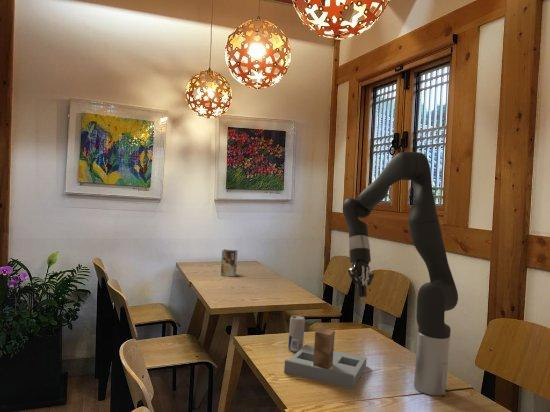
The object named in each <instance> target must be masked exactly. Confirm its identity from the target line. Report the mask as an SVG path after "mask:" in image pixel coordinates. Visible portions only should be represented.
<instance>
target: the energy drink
mask: <svg viewBox="0 0 550 412" xmlns="http://www.w3.org/2000/svg"><path fill="white" fill-rule="evenodd" d="M305 321H306V319H305V317H304V316H302V315H298V314H297V315H296V314H295V315H294V314H293V315H291V316H290V318H289V331H288V344H287V345H288V347H287V349H288V350H289V351H290V352H293V353H297V352H298V351H299V350H300V349H301V348H302V347H303V346H304V337H305V326H306V325H305V324H306V322H305Z"/></svg>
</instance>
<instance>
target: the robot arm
mask: <svg viewBox="0 0 550 412" xmlns="http://www.w3.org/2000/svg"><path fill="white" fill-rule="evenodd" d="M399 181H411V184H412V189H413V201H412V205H411V208H410V211H409V215H408V221H407V222H408V227H409V228H408V229H409V232H410V237H411V238H410V239H411V241H412V243H413V246H414V248H415V250H416V251H417V252H418V254H419V256H420V257H421V259H422V260H423V262H424V263H425V264H424V265H426V268H427V271H428V276H429V282H425V283H423V284H422V285H421V286H420V287H419V289H418V292H417V297H416V323H417V326H418V328H417V331H418V332H417V342H416V355H415V356H416V357H415V367H414V379H413V387H414V389H416V390H417V391H419V392H420V393H422V394H425V395H429V396H442V395H444V397H446V389H447V378H448V366H449V355H450V354H449V353H450V340H451V331H452V329H451V327H450V325H449V324H447V323H446V322H445V314H446V313H445V312H447V311H451V310H453V309H455V308H456V306H457V305H458V301H459V294H458V293H459V292H458V289H457V285H456V282H455V280H454V277H453V274H452V271H451V268H450V265H449V261H448V256H447V252H446V249H445V244H444V240H443V239H444V238H443V233H442V230H441V229H442V228H441V224H440V220H439V216H438V213H437V207H436V203H435V202H436V201H435V197H434V192H433V181H432V173H431V167H430V161H429V159H428V157H427V156H426V155H425V154H424V153H423V152H420V151H401V152H398V153H396V154H395V155H394V156H393V157H392V158H391V160H389V162H388V163H387V164H386V166H385V167H384V169H383V170H382V171H381V172H380V173H379V175H378V176H377V177H376V179H375V180H374V181H373V182H371V183H370V184H369V185H368V186H367V187H366V188H364V189H363V190H362V191H361V192H360V193H359V195H358V198H353V197H349V198H346V199H345V200H344V201H343V204H342V214H343V216H344V220H345V222H346V225H347V228H348V251H349V252H348V253H349V262H350V263H351V267H350V268H348V269H347V272H348V274H349V276H350V279H351V280H352V282H353V284H354V285H356V286H357V288H358V290H357V291H358V296H359V298H367V296H368V294H367V293H368V292H367V286H371V283H372V280H373V278H374V276H375V274H374V272H371V271H370V270H371V268H370V265H369V263H371V261H372V259H371V248H370V247H371V246H370V245H371V244H370V240H369V230H368V224H367V223H365V222H364V221H362V220H360V219H365V218H368V217H369V216H370V215H371V213H372V211H373V209H374V208H375V206H377V205H378V204H379V203H381V202H382V201H383V200H384V199H385V198H386V196H388V194H389V190H390V188H391V186H392V185H394V184H396V183H397V182H399Z"/></svg>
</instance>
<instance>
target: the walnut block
mask: <svg viewBox="0 0 550 412" xmlns="http://www.w3.org/2000/svg"><path fill="white" fill-rule="evenodd" d="M335 335H336V331H335V330H334V329H329V328H324V327H319V328H318V329H317V330H316V331H315V332H314V345H313V346H314V359H313V366H317V367H321V368H326V369H329V368H330V367H331V365H332V364H333V351H335V349H334V348H335Z"/></svg>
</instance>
